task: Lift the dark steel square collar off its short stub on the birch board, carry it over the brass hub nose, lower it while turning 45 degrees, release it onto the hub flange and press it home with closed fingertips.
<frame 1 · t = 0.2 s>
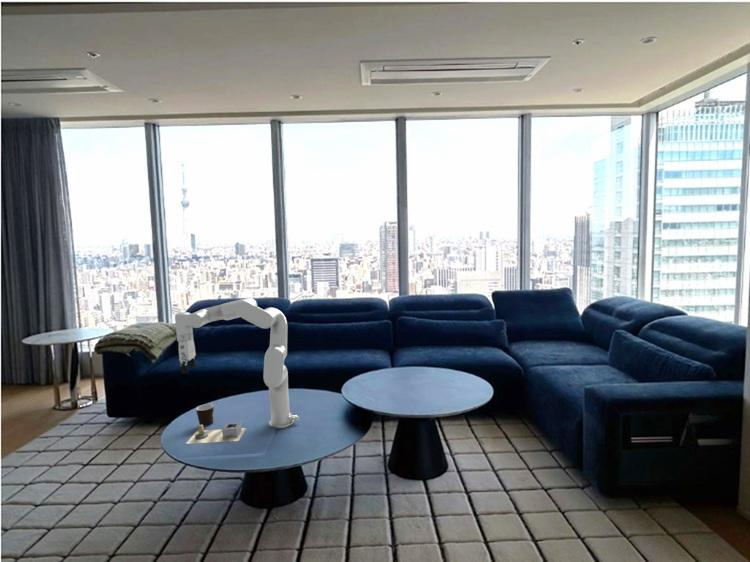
hand: (188, 370, 233), 31 cm above the table, fingers open, 9 cm apart
coffee mug: (208, 424, 241), on the table
stand board: (217, 438, 224), on the table
collar: (232, 434, 223), point 1 cm above the table, touching stand board
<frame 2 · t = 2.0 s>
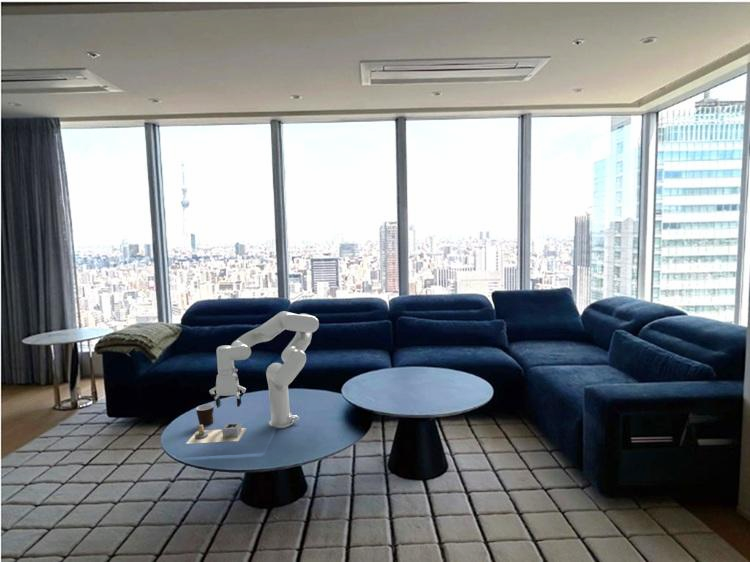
hand: (228, 406, 222), 16 cm above the table, fingers open, 9 cm apart
nothing on the table moved.
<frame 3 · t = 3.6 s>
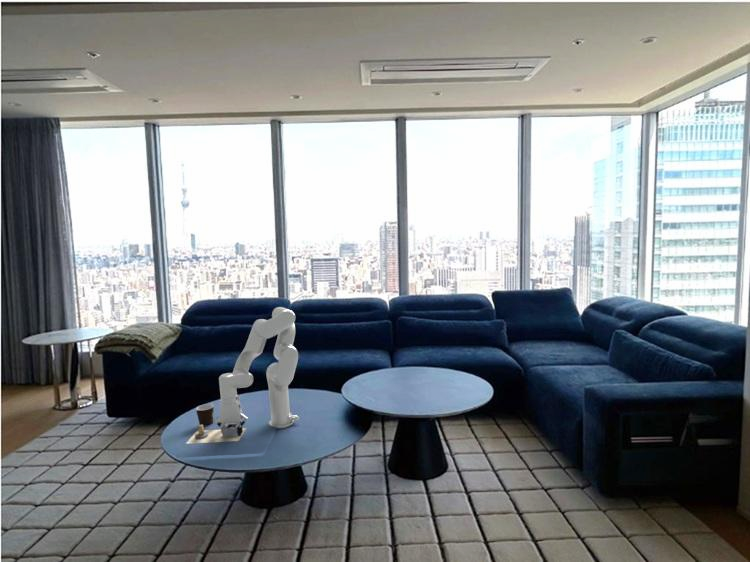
hand: (232, 434, 223), 1 cm above the table, fingers closed on collar, 7 cm apart
collar: (232, 434, 223), point 1 cm above the table, touching gripper, stand board
everything else where it was.
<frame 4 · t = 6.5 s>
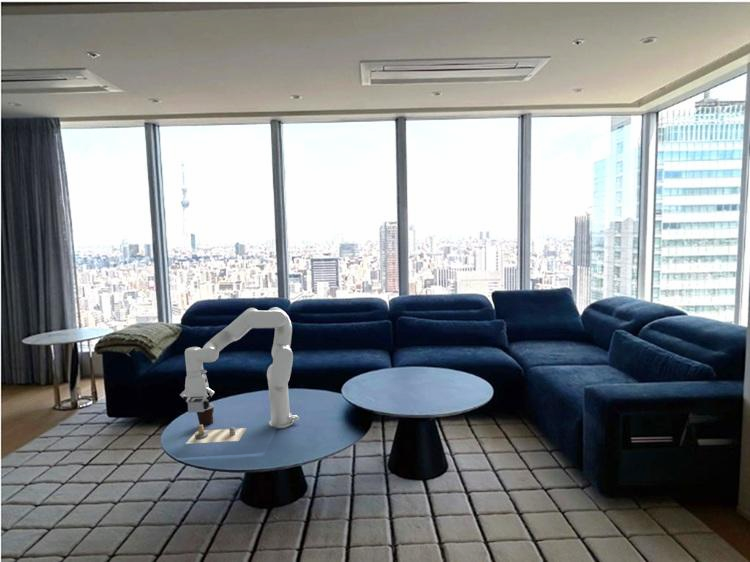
hand: (198, 408, 222), 15 cm above the table, fingers closed on collar, 7 cm apart
collar: (198, 409, 222), point 15 cm above the table, touching gripper
everything else where it was.
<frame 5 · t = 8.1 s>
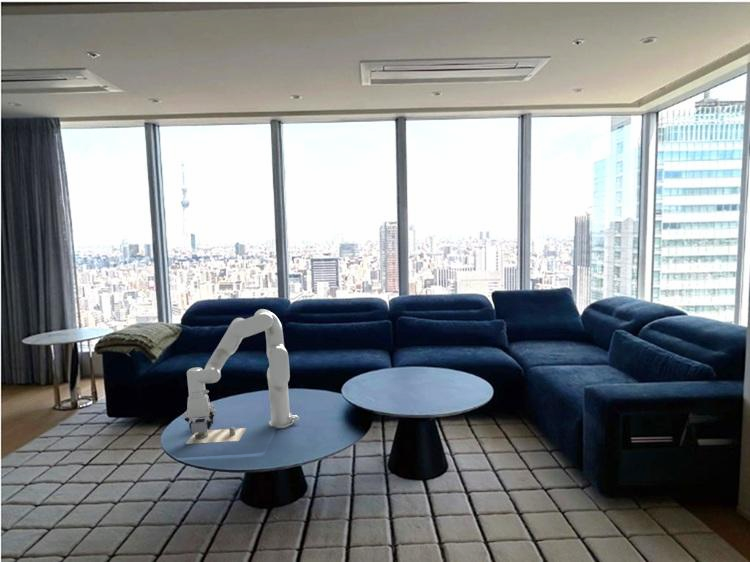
hand: (200, 428, 223), 5 cm above the table, fingers closed on collar, 7 cm apart
collar: (200, 429, 223), point 5 cm above the table, touching gripper
everything else where it was.
when the fingers open (3 cm above the table, at t = 9.2 s): collar stays where it is, resting on stand board.
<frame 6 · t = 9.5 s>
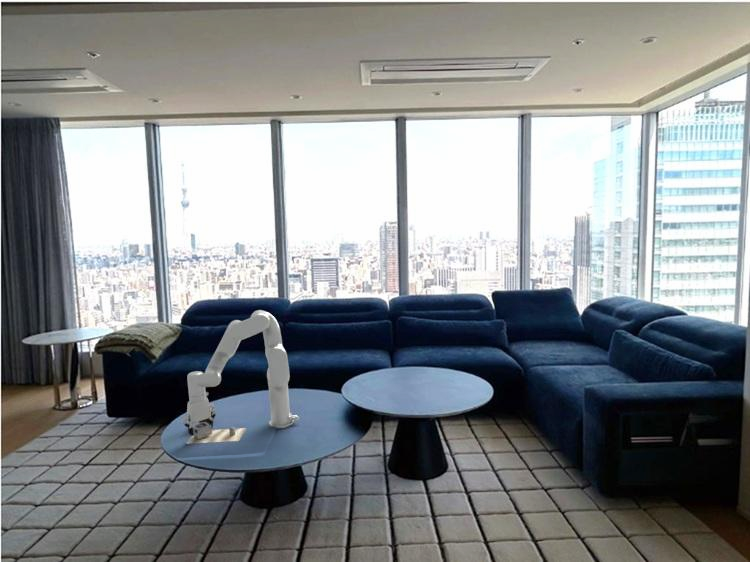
hand: (201, 431, 223), 4 cm above the table, fingers open, 9 cm apart
collar: (201, 434, 223), point 2 cm above the table, touching stand board
everything else where it was.
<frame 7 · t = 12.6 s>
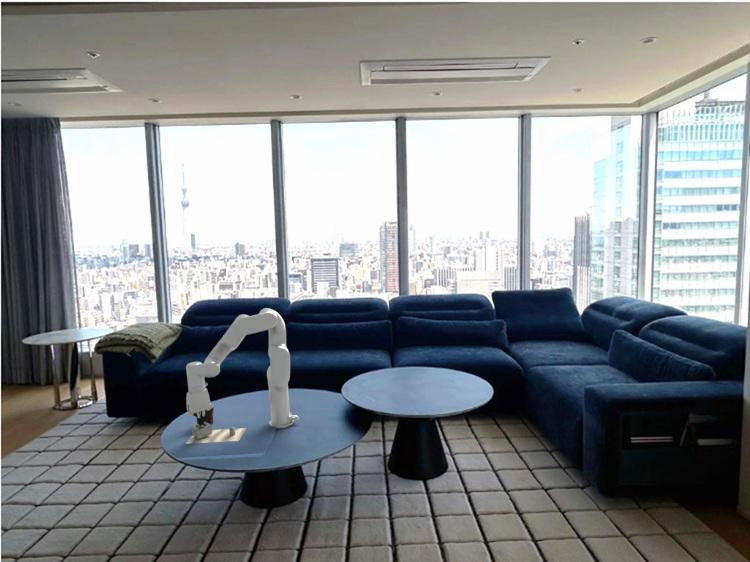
hand: (201, 424, 223), 7 cm above the table, fingers closed
nothing on the table moved.
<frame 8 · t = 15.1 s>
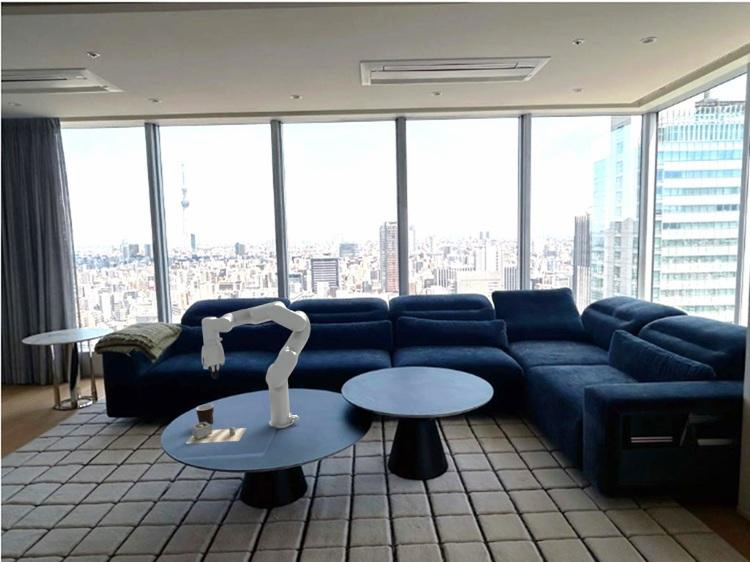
hand: (215, 378, 230), 27 cm above the table, fingers closed
nothing on the table moved.
at the end: collar 0.2 cm from the target spot on the stand board, point 2.2 cm above the stand board's base; collar tilted 0°; the gripper is holding nothing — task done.
